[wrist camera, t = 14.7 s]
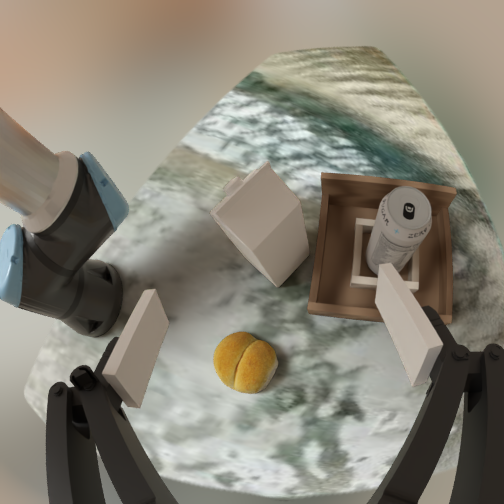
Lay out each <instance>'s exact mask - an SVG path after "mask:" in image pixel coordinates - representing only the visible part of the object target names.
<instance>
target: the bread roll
mask: <svg viewBox="0 0 504 504" xmlns="http://www.w3.org/2000/svg"><path fill="white" fill-rule="evenodd" d="M213 361H214V367H215V370H216V373H217V374H218V376H219V378H220V379H221V381H222V382H223V383H224V384H225V385H227V386H228V387H230V388H232V389H234V390H236V391H239V392H242V393H249V394H252V393H258V392H259V391H261V390H263V389H264V388H266V387H267V385H268V384H269V382H270V381H271V379H272V377H273V375H274V373H275V371H276V368H277V367H278V360H277V357H276V353H275V351H274V349H273V348H272V347H271V346H270V345H269V344H268V343H267V342H265V341H262V340H257V339H255V338H254V337H253V336H252V335H250V334H249V333H247V332H237V333H233V334H231V335H229V336H227V337H226V338H224V339H223V340H222V341H221V342H220V343H219V345H218V346H217V348H216V350H215V352H214V359H213Z"/></svg>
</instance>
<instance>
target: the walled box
mask: <svg viewBox="0 0 504 504" xmlns="http://www.w3.org/2000/svg"><path fill="white" fill-rule="evenodd" d="M321 185H322V201H321V211H320V220H319V229H318V237H317V245H316V253H315V260H314V267H313V275H312V281H311V288H310V295H309V301H308V307H307V310H308V313H309V314H313V315H321V316H329V317H337V318H346V319H355V320H365V321H375V322H384V320H383V318H382V316H381V314H380V312H379V310H378V308H377V305H376V303H375V298H376V290H377V281H378V275H377V274H375V273H374V272H373V271H372V270H371V269H370V268H369V267H368V264H367V262H366V256H365V255H366V249H367V246H368V243H369V240H370V237H371V233H372V230H373V227H374V223H375V220H376V216H377V213H378V209H379V206H380V203H381V201H382V199H383V198H384V197H385V196H386V195H387V194H389V193H390V192H391V191H392V190H394V189H395V188H398V187H401V186H409V187H413V188H416V189H418V190H419V191H421V192H422V193H423V194H424V195H425V196H426V197H427V199H428V200H429V203H430V205H431V216H432V224H431V228H430V230H429V232H428V234H427V235H426V237H425V238H424V240H423V241H422V243H421V244H420V245H419V247H418V248H417V250H416V251H415V252H414V254H413V255H412V256H411V258H410V259H409V261H408V262H407V263H406V265H405V266H404V267H403V268H402V270H401V271H400V272H399V275H400V276H401V278H402V279H403V281H404V282H405V284H406V285H407V287H408V288H409V290H410V291H411V293H412V294H413V296H414V297H415V299H416V300H417V302H418V303H419V305H420V306H421V307H424V306H428V305H429V306H430V307H432V308H433V309H434V310H436V311H437V313H438V314H439V316H440V317H441V319H442V321H443V322H444V325H447V324H450V323H452V303H453V265H452V244H451V232H450V221H449V213H448V207H449V206H450V204H451V202H452V201H453V199H454V198H455V196H456V194H457V193H456V188H452V187H446V186H440V185H434V184H428V183H421V182H414V181H406V180H399V179H390V178H381V177H372V176H362V175H350V174H337V173H323V172H321Z"/></svg>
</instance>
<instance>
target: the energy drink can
mask: <svg viewBox="0 0 504 504" xmlns="http://www.w3.org/2000/svg"><path fill="white" fill-rule="evenodd" d="M431 224H432V216H431V205H430V203H429V200H428V199H427V197H426V196H425V195H424V194H423V193H422V192H421V191H419V190H418V189H416V188H413V187H409V186H401V187H398V188H395V189H394V190H392V191H391V192H390V193H389V194H387V195H386V196H385V197H384V198H383V199H382V201H381V203H380V206H379V209H378V213H377V216H376V220H375V223H374V227H373V230H372V233H371V237H370V240H369V243H368V246H367V249H366V255H365V256H366V262H367V264H368V267H369V268H370V269H371V270H372V271H373V272H374V273H375V274H377V275H378V272H379V264H386V263H392V265H393V266H394V268H395V269H396V271H397V272H398V273H399V272H400V271H401V270H402V268H403V267H404V266H405V265H406V263H407V262H408V261H409V259H410V258H411V256H412V255H413V254H414V252H415V251H416V250H417V248H418V247H419V245H420V244H421V243H422V241H423V240H424V238H425V237H426V235H427V234H428V232H429V230H430V228H431Z"/></svg>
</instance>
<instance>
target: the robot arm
mask: <svg viewBox="0 0 504 504" xmlns="http://www.w3.org/2000/svg"><path fill="white" fill-rule="evenodd" d="M0 203H1V204H3V205H5V206H7V207H9V208H11V209H13V210H14V211H16V212H18V213H20V214H21V219H22V223H23V226H24V227H21V226H20V225H18V224H17V225H16V224H12V225H10V226H9V227H8V228H7V229H6V231H5V232H4V234H3V236H2V238H1V241H0V299H1V300H3V301H5V302H7V303H9V304H11V305H13V306H14V307H18V308H21V309H24V310H28V311H31V312H34V313H38V314H42V315H45V316H49V317H52V318H56V319H59V320H61V321H63V322H64V323H65V324H67V325H68V326H69V327H71V328H72V329H73V330H75V331H76V332H77V333H79V334H82V335H85V336H90V337H97V336H100V335H102V334H104V333H105V332H107V331H108V330H109V329H110V328H111V327H112V325H113V324H114V322H115V321H116V319H117V316H118V314H119V311H120V308H121V303H122V284H121V280H120V277H119V275H118V273H117V271H116V270H115V269H114V268H113V267H112V266H111V265H109V264H107V263H105V262H103V261H100V260H91V259H89V258H90V257H91V256H92V255H93V254H94V253H95V252H96V251H97V249H98V248H99V247H100V246H101V245H102V244H103V243H104V242H105V241H106V240H107V239H108V238H109V237H110V236H111V235H112V234H113V233H114V232H115V231H116V230H117V227H118V226H119V225H120V224H121V223H122V222H123V220H124V219H125V218H126V217H127V215H128V212H129V206H128V203H127V201H126V200H125V198H124V197H123V195H122V194H121V192H120V191H119V189H118V188H117V187H116V185H115V184H114V182H113V181H112V180H111V178H110V177H109V176H108V174H107V173H106V172H105V170H104V169H103V168H102V166H101V165H100V164H99V162H98V161H97V160H96V159H95V157H94V156H93V155H92V154H91V153H90V152H85V153H84V154H82V155H80V157H79V159H78V158H77V157H76V156H75V155H74V154H72V153H71V152H69V151H62V152H58V153H56V154H54V153H52V152H51V151H50V150H49V149H48V148H46V147H45V146H44V145H43V144H42V143H40V142H39V141H38V140H37V139H36V138H34V137H33V136H32V135H31V134H30V133H29V132H27V131H26V130H25V129H24V128H23V127H22V126H20V125H19V124H18V123H17V122H16V121H15V120H14V119H12V118H11V117H10V116H9V115H8V114H7V113H6V112H5V111H3V110H2V109H1V108H0ZM375 303H376V305H377V308H378V310H379V312H380V314H381V316H382V318H383V320H384V322H385V324H386V327H387V329H388V331H389V333H390V335H391V338H392V340H393V342H394V344H395V347H396V349H397V351H398V353H399V356H400V358H401V360H402V363H403V365H404V368H405V370H406V373H407V375H408V377H409V380H410V382H411V385H412V387H414V386H417V385H420V384H424V383H426V381H427V379H428V377H429V376H430V378H431V380H432V383H431V385H430V387H429V389H428V390H427V392H426V394H427V395H426V397H425V400H424V402H423V405H422V407H421V409H420V412H419V414H418V416H417V418H416V420H415V423H414V425H413V427H412V429H411V431H410V433H409V435H408V437H407V439H406V441H405V443H404V445H403V447H402V448H401V450H400V452H399V454H398V456H397V458H396V459H395V461H394V463H393V464H392V466H391V468H390V470H389V471H388V473H387V474H386V476H385V478H384V479H383V481H382V482H381V484H380V485H379V487H378V489H377V490H376V492H375V493H374V494H373V496H372V497H371V499H370V500H369V502H368V503H367V504H418V500H419V498H420V496H421V495H422V493H423V491H424V489H425V487H426V485H427V483H428V482H429V480H430V478H431V476H432V473H433V471H434V469H435V467H436V465H437V463H438V461H439V458H440V456H441V454H442V451H443V449H444V447H445V444H446V442H447V439H448V437H449V434H450V431H451V428H452V426H453V423H454V420H455V417H456V414H457V411H458V408H459V404H460V401H461V398H462V394H463V392H464V414H463V427H462V437H461V446H460V453H459V460H458V466H457V472H456V476H455V481H454V486H453V490H452V495H451V499H450V502H449V504H504V349H503V348H502V347H501V346H499V345H497V344H489V345H487V346H486V348H485V349H484V351H483V352H470V351H469V350H468V349H467V348H466V347H465V346H463V345H459V344H457V343H456V341H455V340H454V338H453V336H452V335H451V333H450V332H449V330H448V328H447V327H446V325H444V322H443V321H442V319H441V317H440V316H439V314H438V313H437V311H436V310H434V309H433V308H432V307H430V306H429V305H428V306H424V307H421V306H420V305H419V303H418V302H417V300H416V299H415V297H414V296H413V294H412V293H411V291H410V290H409V288H408V287H407V285H406V284H405V282H404V281H403V279H402V278H401V276H400V275H399V273H398V272H397V271H396V269H395V268H394V266H393V265H392V263H386V264H379V272H378V281H377V290H376V298H375ZM168 326H169V321H168V319H167V316H166V314H165V311H164V309H163V306H162V304H161V301H160V299H159V296H158V294H157V291H156V289H150V290H144V292H143V294H142V296H141V298H140V299H139V301H138V303H137V305H136V307H135V309H134V310H133V312H132V314H131V316H130V318H129V320H128V322H127V324H126V326H125V327H124V329H123V331H122V333H121V335H120V337H114V338H113V339H112V340H111V341H110V342H109V344H108V346H107V348H106V350H105V352H104V353H103V355H102V357H101V359H100V361H99V363H98V365H97V367H96V369H95V371H94V372H93V371H92V370H91V368H90V367H89V366H87V365H82V366H79V367H77V368H76V369H74V370H73V372H72V373H71V375H70V381H71V382H72V384H73V385H74V386H75V387H68V386H67V385H66V384H65V383H64V382H57V383H55V384H54V385H53V386H52V387H51V388H50V390H49V394H48V405H47V420H46V470H47V484H48V495H49V504H106V503H105V499H104V494H103V489H102V484H101V479H100V473H99V468H98V460H97V453H96V446H97V449H98V451H99V454H100V456H101V459H102V461H103V463H104V466H105V468H106V470H107V472H108V475H109V477H110V479H111V481H112V483H113V485H114V487H115V489H116V491H117V493H118V495H119V497H120V499H121V501H122V503H123V504H178V502H177V501H176V500H175V498H174V497H173V495H172V494H171V493H170V491H169V490H168V488H167V487H166V485H165V484H164V482H163V480H162V479H161V477H160V476H159V474H158V473H157V471H156V469H155V468H154V466H153V464H152V463H151V461H150V459H149V458H148V456H147V454H146V453H145V451H144V449H143V447H142V445H141V444H140V442H139V440H138V438H137V436H136V434H135V432H134V430H133V428H132V426H131V424H130V422H129V420H128V418H127V416H126V414H125V412H124V410H123V408H122V407H121V403H122V401H123V402H124V403H125V404H126V405H127V406H128V407H134V408H140V407H141V404H142V401H143V398H144V395H145V392H146V389H147V386H148V383H149V380H150V377H151V374H152V371H153V368H154V365H155V362H156V359H157V356H158V354H159V351H160V348H161V345H162V342H163V340H164V337H165V334H166V331H167V329H168ZM95 443H96V445H95Z"/></svg>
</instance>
